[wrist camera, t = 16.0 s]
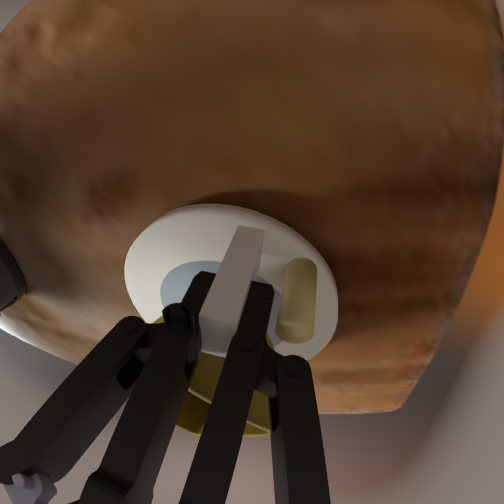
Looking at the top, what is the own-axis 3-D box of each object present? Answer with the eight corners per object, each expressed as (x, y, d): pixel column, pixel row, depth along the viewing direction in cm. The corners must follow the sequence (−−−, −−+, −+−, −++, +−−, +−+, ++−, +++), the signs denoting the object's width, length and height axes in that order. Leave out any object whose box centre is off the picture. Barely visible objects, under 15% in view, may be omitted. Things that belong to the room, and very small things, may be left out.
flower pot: (298, 328, 21) (281, 437, 14) (223, 353, 26) (195, 437, 19) (219, 253, 18) (164, 373, 11) (152, 297, 23) (103, 384, 16)
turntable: (108, 278, 25) (73, 326, 20) (215, 148, 16) (163, 196, 10) (236, 372, 31) (222, 421, 26) (377, 318, 21) (384, 388, 16)
